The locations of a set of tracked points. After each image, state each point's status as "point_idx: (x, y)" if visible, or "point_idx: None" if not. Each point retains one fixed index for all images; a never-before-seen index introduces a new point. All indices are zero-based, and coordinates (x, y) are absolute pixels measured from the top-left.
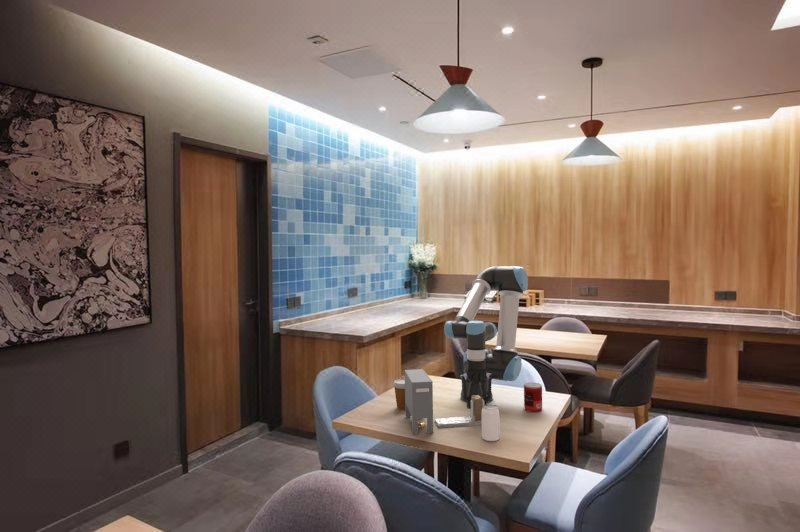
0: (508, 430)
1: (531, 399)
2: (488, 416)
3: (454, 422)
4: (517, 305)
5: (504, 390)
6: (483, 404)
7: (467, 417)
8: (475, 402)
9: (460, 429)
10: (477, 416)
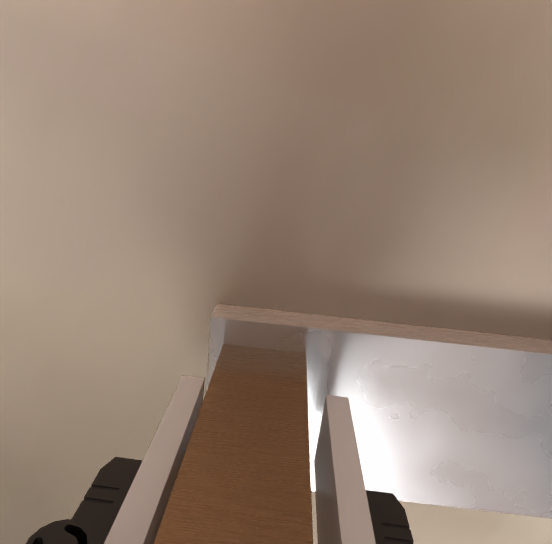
0: (19, 47)
1: None
2: None
3: (549, 380)
4: None
5: None
6: (146, 488)
7: None
8: (303, 530)
9: (532, 243)
10: (277, 376)
